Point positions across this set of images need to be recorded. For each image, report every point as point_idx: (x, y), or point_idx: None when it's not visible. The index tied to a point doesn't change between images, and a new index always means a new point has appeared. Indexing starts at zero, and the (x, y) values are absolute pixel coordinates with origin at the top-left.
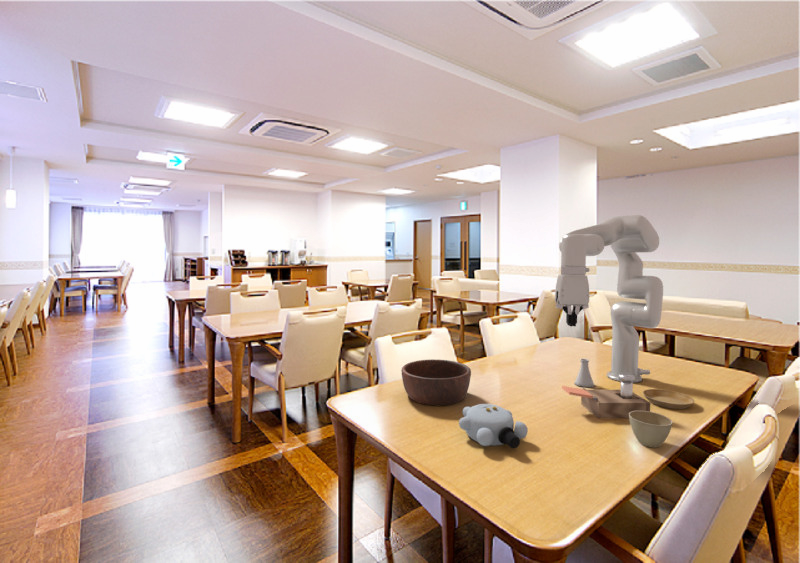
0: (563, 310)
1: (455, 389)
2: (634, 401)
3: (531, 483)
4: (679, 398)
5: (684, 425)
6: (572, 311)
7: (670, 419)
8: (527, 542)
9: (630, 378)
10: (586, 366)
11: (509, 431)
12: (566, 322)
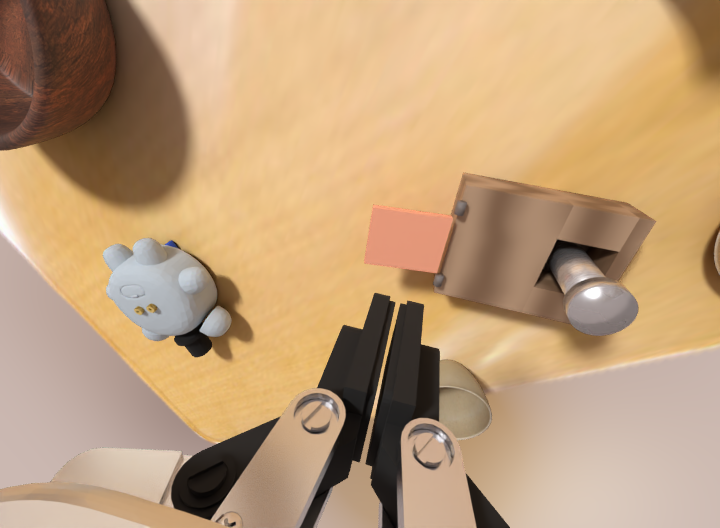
0: (245, 433)
1: (57, 135)
2: (549, 309)
3: (220, 389)
4: None
5: (615, 346)
6: (388, 462)
7: (485, 429)
8: (200, 436)
9: (585, 331)
10: None
11: (188, 345)
12: (343, 327)
